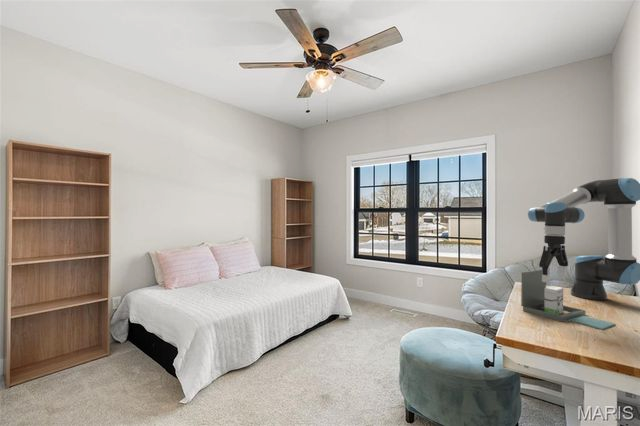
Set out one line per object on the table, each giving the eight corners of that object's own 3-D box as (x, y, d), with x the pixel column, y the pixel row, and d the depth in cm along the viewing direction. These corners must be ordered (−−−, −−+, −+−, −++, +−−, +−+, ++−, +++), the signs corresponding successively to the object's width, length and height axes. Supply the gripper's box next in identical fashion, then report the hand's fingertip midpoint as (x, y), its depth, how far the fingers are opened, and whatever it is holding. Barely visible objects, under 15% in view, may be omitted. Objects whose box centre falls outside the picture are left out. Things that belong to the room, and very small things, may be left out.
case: (544, 304, 151) (544, 269, 151) (585, 314, 136) (586, 275, 136) (521, 310, 141) (521, 272, 141) (562, 321, 126) (563, 279, 126)
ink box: (556, 316, 134) (556, 290, 134) (543, 313, 138) (543, 287, 138) (563, 312, 138) (563, 287, 138) (550, 309, 143) (551, 285, 143)
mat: (582, 316, 133) (582, 315, 133) (615, 325, 124) (615, 323, 124) (569, 320, 128) (569, 319, 128) (602, 329, 118) (602, 328, 118)
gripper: (559, 234, 147) (558, 277, 147) (530, 235, 136) (529, 281, 136) (577, 235, 140) (576, 280, 140) (549, 236, 129) (548, 285, 129)
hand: (553, 280), depth 138 cm, fingers open, 13 cm apart
